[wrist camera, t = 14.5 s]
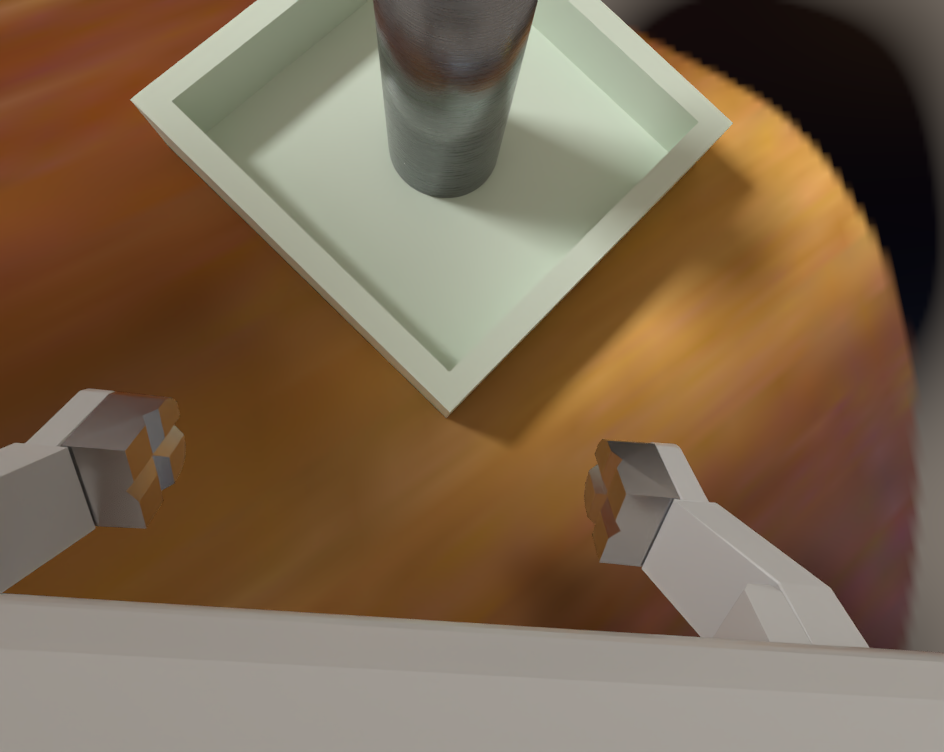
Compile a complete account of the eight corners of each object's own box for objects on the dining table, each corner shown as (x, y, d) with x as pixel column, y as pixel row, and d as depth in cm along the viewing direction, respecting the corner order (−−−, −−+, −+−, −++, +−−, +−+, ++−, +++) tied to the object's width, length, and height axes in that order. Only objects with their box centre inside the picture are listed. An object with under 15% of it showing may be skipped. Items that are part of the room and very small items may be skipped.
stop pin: (347, 142, 23) (267, -203, 11) (443, 60, 24) (464, -340, 12) (444, 236, 22) (470, -11, 11) (536, 149, 23) (655, -166, 11)
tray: (168, 146, 23) (130, 99, 20) (441, -75, 25) (443, -145, 22) (446, 418, 22) (449, 412, 19) (695, 163, 25) (733, 123, 22)
